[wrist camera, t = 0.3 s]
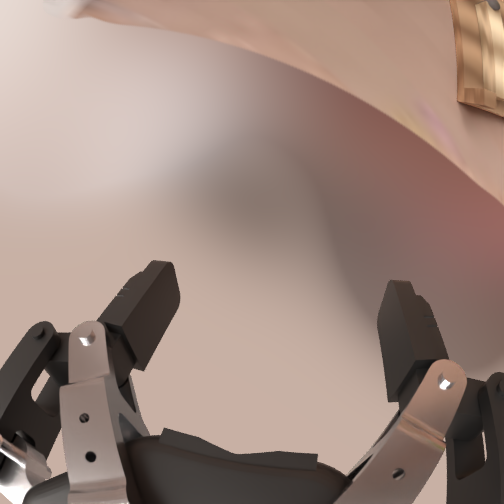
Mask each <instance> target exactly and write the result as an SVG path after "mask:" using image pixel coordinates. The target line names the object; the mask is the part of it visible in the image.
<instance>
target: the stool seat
mask: <svg viewBox="0 0 504 504" xmlns="http://www.w3.org/2000/svg"><path fill="white" fill-rule="evenodd" d="M481 1H484V0H450V6H451V12H452V18H453V25H454V33H455V43H456V56H457V101H458V102H461V103H465V104H468V105H471V106H474V107H477V108H479V109H482V110H485V111H488V112H490V113H493V114H496V115H498V116H501V117H503V118H504V101H502V100H496V99H497V94H496V93H494V92H491V91H489V90H486V89H484V81H483V59H482V47H481V38H480V30H479V23H478V17H477V12H476V6H475V5H476V4H477V3H479V2H481ZM497 1H498V2H499V4H500V13H501V18H502V23H503V29H504V1H502V0H497Z"/></svg>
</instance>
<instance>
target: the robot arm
mask: <svg viewBox="0 0 504 504" xmlns="http://www.w3.org/2000/svg"><path fill="white" fill-rule="evenodd" d="M179 303H180V291H179V287H178V283H177V278H176V274H175V269H174V265H173V264H172V263H171V262H166V261H156V260H153V261H151V262H150V264H149V265H148V266H147V267H146V268H145V270H144V271H143V272H139V273H138V274H136V275H135V276H133V277H132V278H130V279H129V280H128V282H127V283H126V284H125V285H124V286H123V289H121V290H120V291H119V293H118V294H117V296H116V297H115V298H114V299H113V300H112V302H111V303H110V304H109V305H108V307H107V308H106V309H105V310H104V312H103V313H102V314H101V316H100V317H99V318H98V319H97V321H86V322H83V323H81V324H80V325H78V326H77V327H75V328H74V330H73V331H72V332H71V333H57V332H56V330H55V328H54V327H53V325H52V324H51V323H50V322H47V321H43V322H39V323H37V324H35V325H34V326H32V327H31V328H30V329H29V330H28V332H27V333H26V334H25V336H24V337H23V338H22V340H21V341H20V343H19V344H18V345H17V347H16V348H15V349H14V351H13V352H12V354H11V355H10V356H9V358H8V359H7V361H6V362H5V364H4V365H3V367H2V368H1V370H0V491H1V492H2V493H3V494H4V495H5V496H6V497H7V498H8V499H9V500H10V501H12V502H13V503H14V504H412V503H413V502H414V500H415V499H416V497H417V496H418V494H419V493H420V492H421V490H422V488H423V487H424V485H425V484H426V482H427V480H428V479H429V477H430V476H431V474H432V472H433V471H434V469H435V467H436V465H437V464H438V462H439V460H440V458H441V456H442V455H443V452H444V450H445V448H446V456H447V502H446V504H504V373H501V372H497V373H494V374H492V375H491V376H490V377H489V379H488V380H487V381H486V382H484V381H480V380H475V379H471V378H467V377H466V374H465V372H464V370H463V369H462V368H461V367H460V366H459V365H458V364H457V363H455V362H453V361H451V360H449V357H448V354H447V351H446V348H445V345H444V342H443V339H442V337H441V334H440V331H439V328H438V327H437V323H436V320H435V318H434V315H433V312H432V310H431V307H430V305H429V304H428V303H427V302H426V301H425V299H424V298H423V297H422V296H418V295H416V294H415V292H414V289H413V287H412V284H411V282H409V281H399V280H390V281H389V283H388V285H387V288H386V291H385V294H384V298H383V301H382V304H381V307H380V310H379V313H378V321H377V326H378V327H377V328H378V333H379V339H380V345H381V352H382V358H383V365H384V372H385V380H386V388H387V398H388V402H399V410H398V411H397V412H396V414H395V415H394V417H393V418H392V420H391V421H390V423H389V424H388V426H387V427H386V428H385V430H384V431H383V433H382V434H381V435H380V436H379V438H378V439H377V441H376V442H375V443H374V444H373V446H372V447H371V448H370V449H369V451H368V452H367V453H366V454H365V455H364V456H363V457H362V458H361V460H360V461H359V462H358V463H357V464H356V465H355V466H354V467H353V468H352V470H350V471H349V473H348V474H347V475H344V474H343V473H341V472H340V471H338V470H336V469H335V468H333V467H330V466H328V465H326V464H323V463H320V462H317V457H318V454H309V453H294V452H282V451H275V452H264V453H252V454H234V453H231V452H229V451H226V450H224V449H222V448H220V447H218V446H215V445H213V444H211V443H209V442H207V441H205V440H203V439H201V438H199V437H196V436H192V435H188V434H184V433H181V432H177V431H174V430H170V429H167V428H164V429H163V431H162V434H161V435H154V436H153V435H152V436H150V434H149V431H148V429H147V427H146V426H145V424H144V422H143V420H142V417H141V413H140V410H139V406H138V403H137V399H136V394H135V390H134V386H133V382H132V378H131V376H130V372H131V370H132V369H133V368H134V369H138V370H141V371H144V370H145V368H146V366H147V364H148V363H149V360H150V359H151V357H152V355H153V353H154V351H155V349H156V348H157V346H158V344H159V342H160V340H161V338H162V337H163V335H164V333H165V331H166V329H167V327H168V326H169V324H170V322H171V320H172V318H173V317H174V315H175V313H176V311H177V309H178V307H179ZM43 369H45V370H46V372H47V373H48V374H49V375H50V377H49V379H48V381H47V382H46V384H45V386H44V388H43V389H42V391H41V393H40V394H39V396H38V398H37V400H36V401H35V402H34V400H33V399H32V396H31V390H32V387H33V386H34V384H35V382H36V381H37V379H38V377H39V376H40V374H41V373H42V371H43ZM61 428H62V437H63V446H64V453H65V459H66V466H67V472H65V473H63V474H60V475H58V476H56V477H53V478H51V479H49V478H50V477H51V473H52V472H51V469H50V468H49V467H48V466H47V463H46V460H47V458H48V456H49V453H50V451H51V449H52V447H53V444H54V442H55V440H56V438H57V436H58V434H59V432H60V430H61ZM482 432H484V434H485V442H486V450H487V459H486V462H485V455H484V445H483V437H482ZM444 437H445V440H446V442H444V441H443V439H444ZM45 479H49V480H46V481H45Z"/></svg>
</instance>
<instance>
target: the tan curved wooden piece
mask: <svg viewBox="0 0 504 504" xmlns="http://www.w3.org/2000/svg"><path fill="white" fill-rule="evenodd" d="M475 6H476V12H477V17H478V23H479V30H480V38H481V47H482V59H483V81H484V89H486V90H489V91H491V92H494V93H496V94H497V99H496V100H502V101H504V29H503V23H502V18H501V13H500V4H499V2H498V1H497V0H484V1H481V2H479V3H477V4H476V5H475Z"/></svg>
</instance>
